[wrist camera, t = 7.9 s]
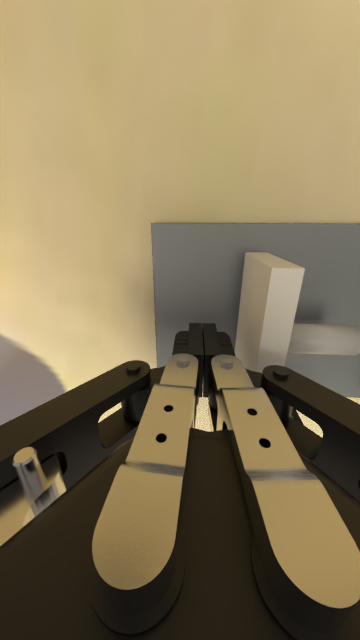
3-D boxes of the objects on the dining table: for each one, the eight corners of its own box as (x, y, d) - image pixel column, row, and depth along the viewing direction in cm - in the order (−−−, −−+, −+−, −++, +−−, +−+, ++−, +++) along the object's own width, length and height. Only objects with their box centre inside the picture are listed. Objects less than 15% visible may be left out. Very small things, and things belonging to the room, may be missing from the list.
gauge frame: (153, 223, 14) (81, 225, 5) (443, 224, 13) (978, 227, 4) (159, 380, 19) (127, 528, 10) (375, 389, 18) (560, 562, 9)
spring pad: (245, 252, 13) (272, 267, 9) (347, 252, 13) (430, 270, 8) (230, 388, 17) (243, 450, 12) (308, 392, 17) (351, 456, 12)
